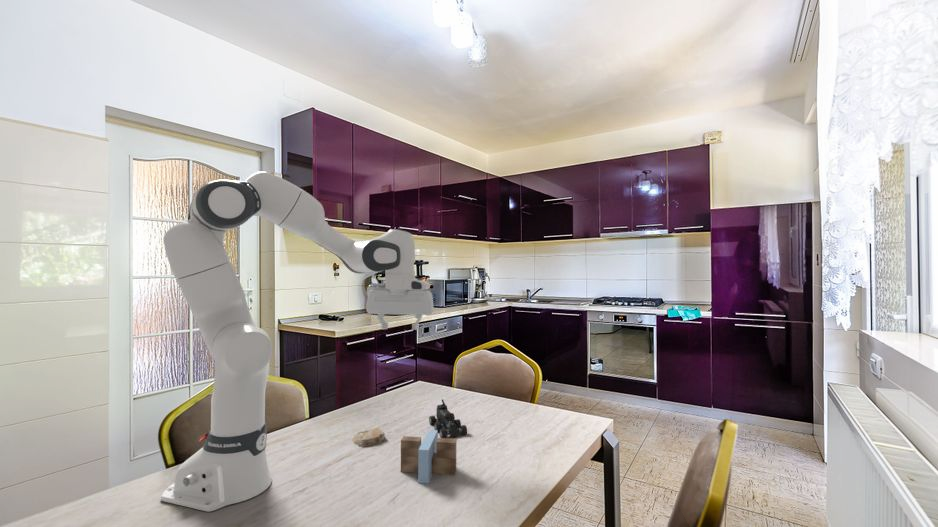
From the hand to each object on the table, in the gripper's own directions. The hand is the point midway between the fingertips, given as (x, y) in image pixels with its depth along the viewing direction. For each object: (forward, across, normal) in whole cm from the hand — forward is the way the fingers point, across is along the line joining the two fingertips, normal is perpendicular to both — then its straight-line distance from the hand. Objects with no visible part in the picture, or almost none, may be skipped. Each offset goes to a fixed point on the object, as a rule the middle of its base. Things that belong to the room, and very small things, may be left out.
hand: (399, 329), depth 121 cm
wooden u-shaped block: (+34, +13, -16) cm, 39 cm away
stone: (+34, -9, 0) cm, 35 cm away
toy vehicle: (+34, +13, +11) cm, 38 cm away
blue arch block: (+34, +13, -16) cm, 39 cm away
